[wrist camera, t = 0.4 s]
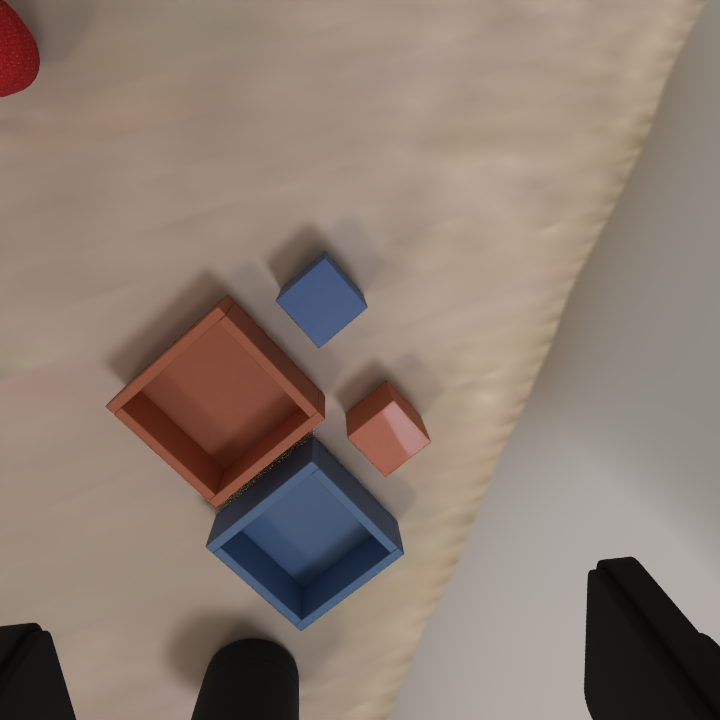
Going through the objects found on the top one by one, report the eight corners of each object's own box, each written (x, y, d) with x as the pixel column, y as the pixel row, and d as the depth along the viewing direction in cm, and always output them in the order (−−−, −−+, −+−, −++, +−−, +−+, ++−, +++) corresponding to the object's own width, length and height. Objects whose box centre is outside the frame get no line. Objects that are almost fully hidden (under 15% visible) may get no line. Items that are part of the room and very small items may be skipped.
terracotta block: (345, 414, 46) (346, 437, 42) (387, 379, 46) (393, 399, 41) (380, 451, 47) (385, 477, 43) (421, 418, 47) (431, 441, 42)
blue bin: (215, 514, 48) (205, 546, 44) (313, 435, 47) (311, 460, 42) (303, 594, 51) (301, 631, 47) (397, 522, 49) (404, 554, 45)
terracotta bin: (126, 385, 44) (104, 406, 40) (228, 294, 43) (217, 306, 38) (225, 479, 47) (215, 508, 43) (325, 396, 46) (325, 418, 41)
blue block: (280, 289, 43) (275, 300, 39) (325, 250, 42) (325, 257, 38) (319, 332, 44) (319, 348, 40) (363, 295, 43) (367, 307, 39)
